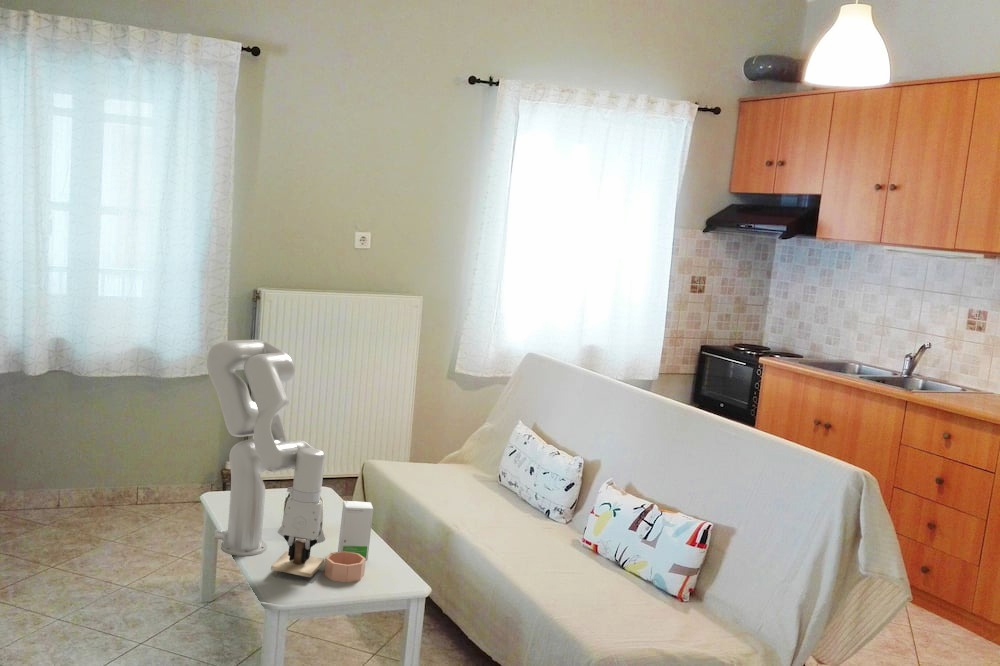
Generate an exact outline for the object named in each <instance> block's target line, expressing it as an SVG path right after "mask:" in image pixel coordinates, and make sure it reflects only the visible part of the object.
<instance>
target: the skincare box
mask: <svg viewBox="0 0 1000 666" xmlns="http://www.w3.org/2000/svg"><path fill="white" fill-rule="evenodd" d="M373 516H374V507H373V505H372V502H370V501H368V502H367V501H360V500H359V501H357V500H354V501H352V500H343V501H342V510H341V519H340V529H339V539H338V545H337V552H341V551H346V552H353V553H359V554H360V555H362V556H363V557H364V558H366V560H367V561H368V560H369V551H370V550H369V549H370V542H371V541H370V540H371V531H372V523H373Z"/></svg>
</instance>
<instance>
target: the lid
mask: <svg viewBox="0 0 1000 666" xmlns="http://www.w3.org/2000/svg"><path fill="white" fill-rule="evenodd" d="M305 541H306V539H302V538H296V541H295V549H294V557H293V560H292V561H290V560H289V558H290V556H288V552H289V551H285V552H284V553H282V554H281V556H280V557H278V558H277V560H276V561H274V563H272V565H271V566H270V570H271V571H277V572H280V573H281V572H286V573H291V574H296V575H301V576H306V577H311V576H312V575H313V574H314V573H315V572H316V571H317V570H318V569H320V568H321V566H322V565H323V564H324V563H325V558H321V557H316V556H313V555H310V557H309V559H307V561H306V562H305V563H302V553H303V549H304V548H305Z"/></svg>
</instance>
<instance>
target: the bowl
mask: <svg viewBox="0 0 1000 666" xmlns="http://www.w3.org/2000/svg"><path fill="white" fill-rule="evenodd" d="M324 563H325V565H324V576H325V577H327V578H328V579H329V580H331V581H333V582H341V583H352V582H358V581H359V582H360V581H361V580H362V579H363V578H364V576H365V572H366V571H365V570H366V558H364V557H363V556H362V555H360V554H359V553H353V552H346V551H341V552H338V551H335V552H330V553H329V554H327V556H326V557H325V561H324Z"/></svg>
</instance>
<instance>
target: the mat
mask: <svg viewBox="0 0 1000 666" xmlns="http://www.w3.org/2000/svg"><path fill="white" fill-rule="evenodd" d="M323 572H325V569H322V568H318V570H317V571H316V572H315V573H314V574H313V575H312V576H311V577H306V576H301V575H296V574H291V573H286V572H281V571H280V573H279V574H277V576H275V578H277V579H283V580H288V581H295V582H299V583H300V582H301V583H308V584H314V582H315V581H316V580H317V579H318V578H319V577H320V575H322V573H323Z"/></svg>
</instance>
